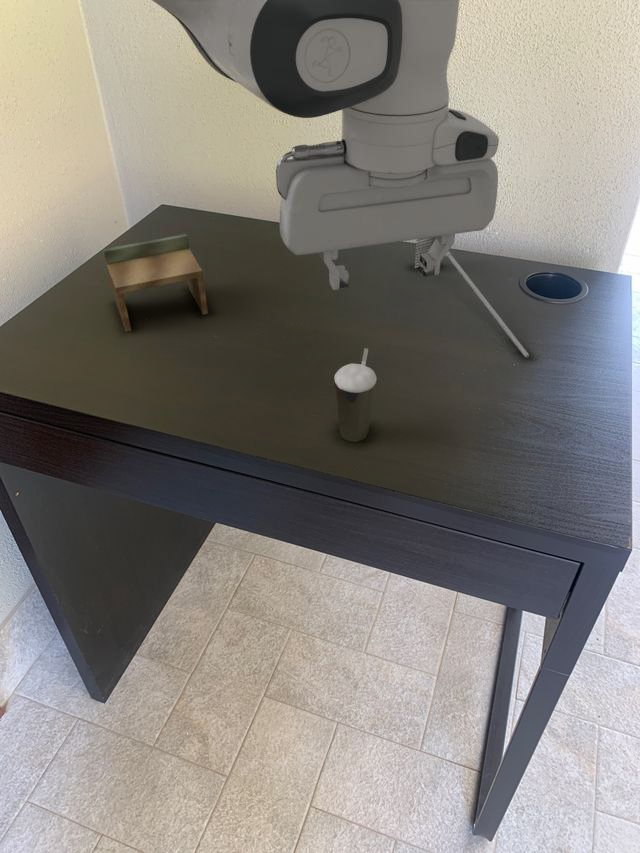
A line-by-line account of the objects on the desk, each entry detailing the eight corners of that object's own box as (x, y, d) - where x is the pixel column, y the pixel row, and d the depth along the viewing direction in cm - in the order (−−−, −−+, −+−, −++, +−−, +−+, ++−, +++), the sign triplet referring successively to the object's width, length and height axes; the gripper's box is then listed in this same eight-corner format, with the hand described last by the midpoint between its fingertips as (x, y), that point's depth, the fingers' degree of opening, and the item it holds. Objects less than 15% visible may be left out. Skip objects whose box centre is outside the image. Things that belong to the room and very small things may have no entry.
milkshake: (381, 422, 81) (385, 353, 74) (364, 450, 77) (367, 380, 71) (346, 412, 82) (347, 343, 76) (328, 439, 79) (327, 369, 72)
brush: (499, 387, 93) (510, 339, 86) (414, 268, 110) (417, 218, 102) (524, 379, 94) (536, 330, 87) (435, 261, 110) (440, 211, 103)
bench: (125, 331, 96) (112, 274, 90) (116, 304, 102) (102, 249, 96) (208, 313, 100) (200, 257, 94) (194, 288, 105) (186, 233, 99)
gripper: (283, 161, 54) (290, 311, 63) (516, 135, 58) (491, 280, 67) (266, 135, 59) (275, 279, 68) (484, 113, 63) (464, 252, 72)
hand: (384, 279), depth 68 cm, fingers open, 8 cm apart
